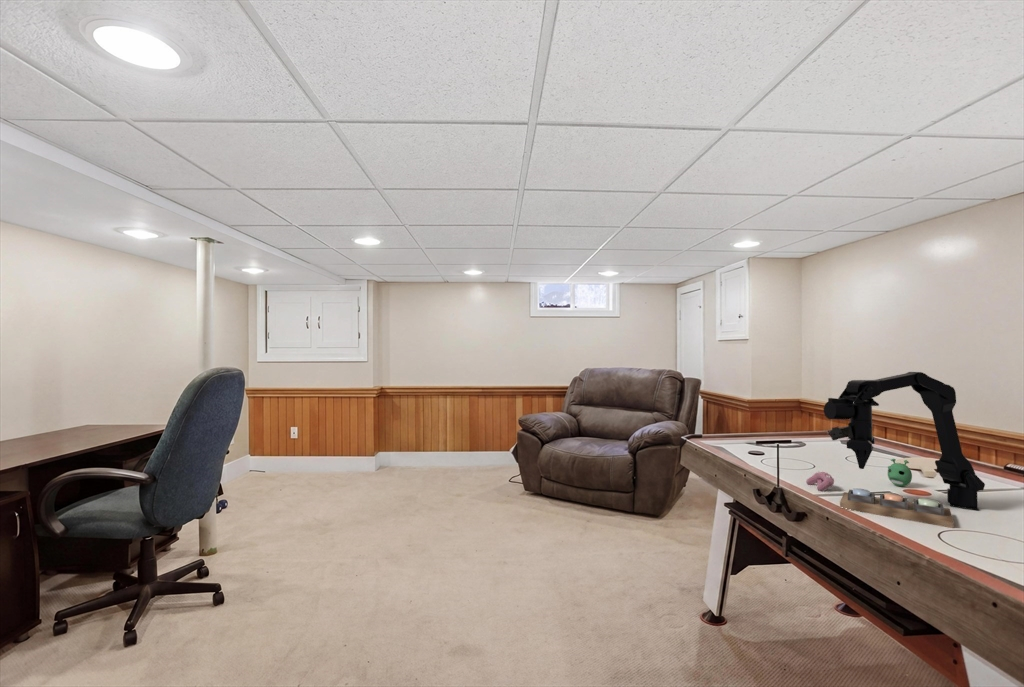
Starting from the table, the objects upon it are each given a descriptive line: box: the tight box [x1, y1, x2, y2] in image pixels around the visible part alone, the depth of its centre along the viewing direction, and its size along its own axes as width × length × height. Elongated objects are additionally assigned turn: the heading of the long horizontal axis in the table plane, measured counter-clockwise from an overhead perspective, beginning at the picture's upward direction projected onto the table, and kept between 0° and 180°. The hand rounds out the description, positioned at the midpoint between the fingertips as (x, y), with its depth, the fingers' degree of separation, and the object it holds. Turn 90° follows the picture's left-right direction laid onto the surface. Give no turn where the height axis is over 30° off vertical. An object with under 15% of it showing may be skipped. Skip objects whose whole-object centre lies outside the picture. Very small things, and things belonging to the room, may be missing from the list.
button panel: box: [839, 489, 954, 529], centre depth 145 cm, size 26×14×4 cm, turn 50°
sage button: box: [917, 497, 939, 507], centre depth 139 cm, size 4×4×3 cm
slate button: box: [852, 488, 871, 497], centre depth 150 cm, size 4×4×3 cm
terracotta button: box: [883, 492, 904, 502], centre depth 145 cm, size 4×4×3 cm
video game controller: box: [806, 470, 835, 492], centre depth 171 cm, size 10×5×7 cm, turn 171°
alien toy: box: [887, 458, 913, 487], centre depth 174 cm, size 7×8×10 cm
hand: (861, 468), depth 150 cm, fingers closed
